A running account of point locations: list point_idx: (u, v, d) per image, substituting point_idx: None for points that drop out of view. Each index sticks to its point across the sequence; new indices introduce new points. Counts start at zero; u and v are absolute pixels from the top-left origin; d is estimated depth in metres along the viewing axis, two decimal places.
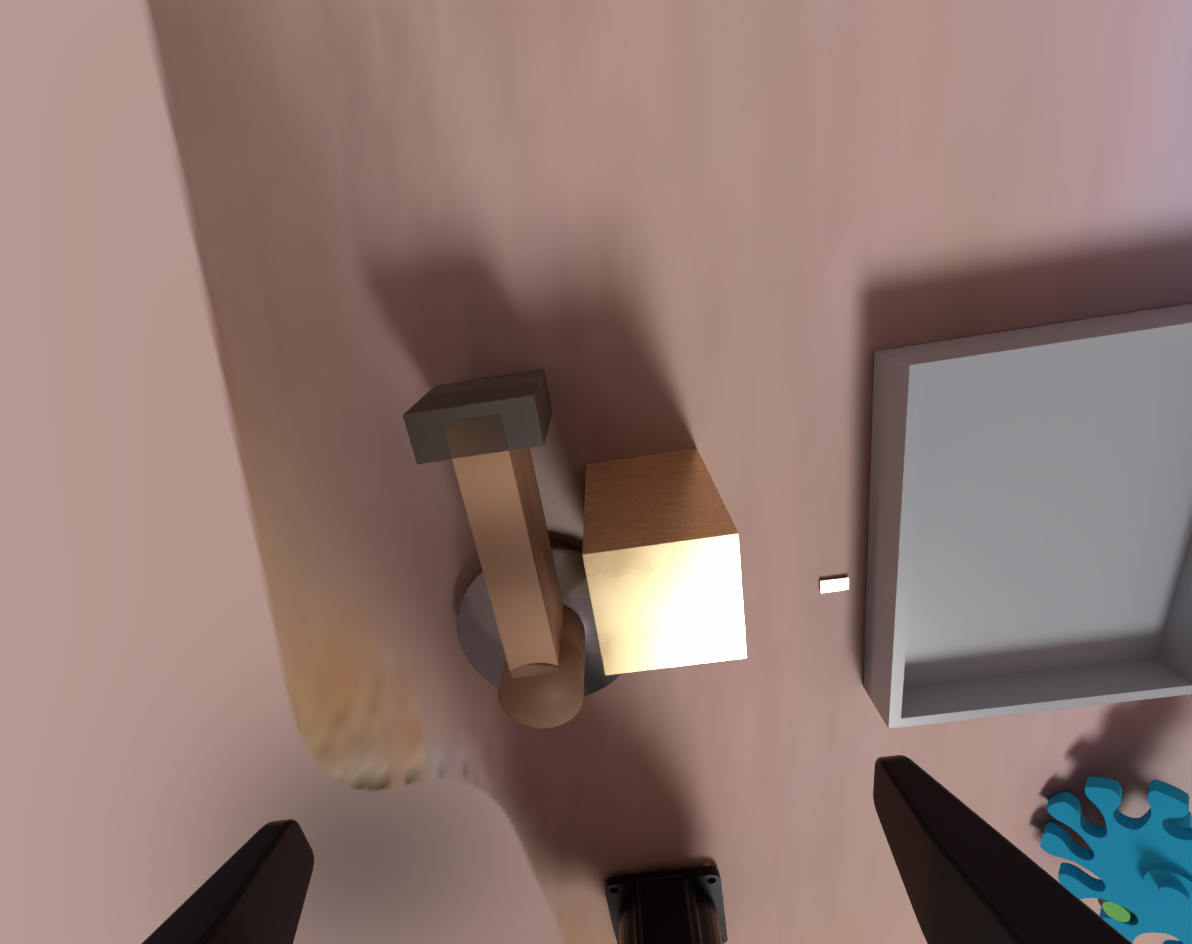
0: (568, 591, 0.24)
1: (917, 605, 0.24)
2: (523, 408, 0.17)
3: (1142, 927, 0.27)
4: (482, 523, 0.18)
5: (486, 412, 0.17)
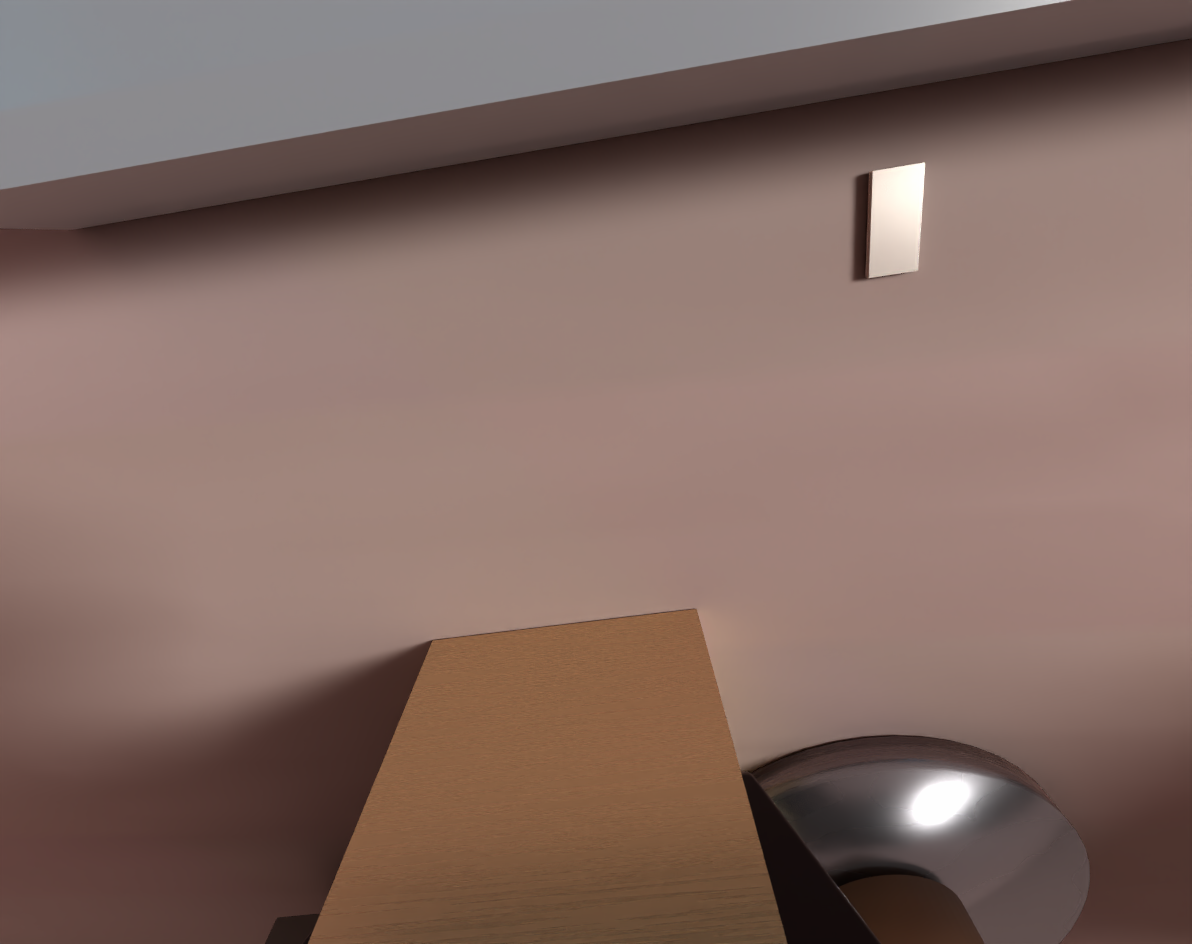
0: None
1: None
2: None
3: None
4: None
5: None
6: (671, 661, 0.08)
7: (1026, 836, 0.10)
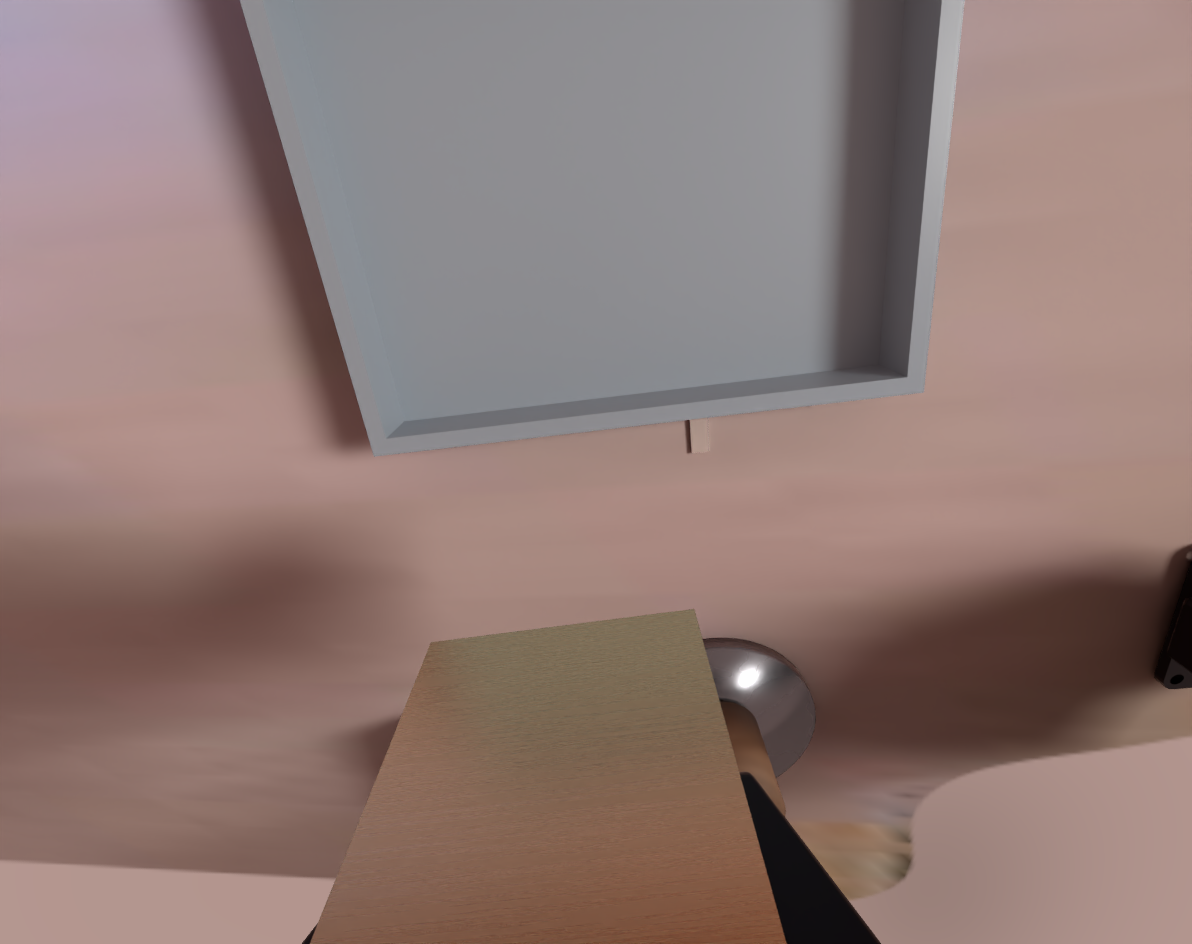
0: None
1: (732, 340, 0.17)
2: None
3: None
4: None
5: None
6: (668, 662, 0.08)
7: (781, 684, 0.22)
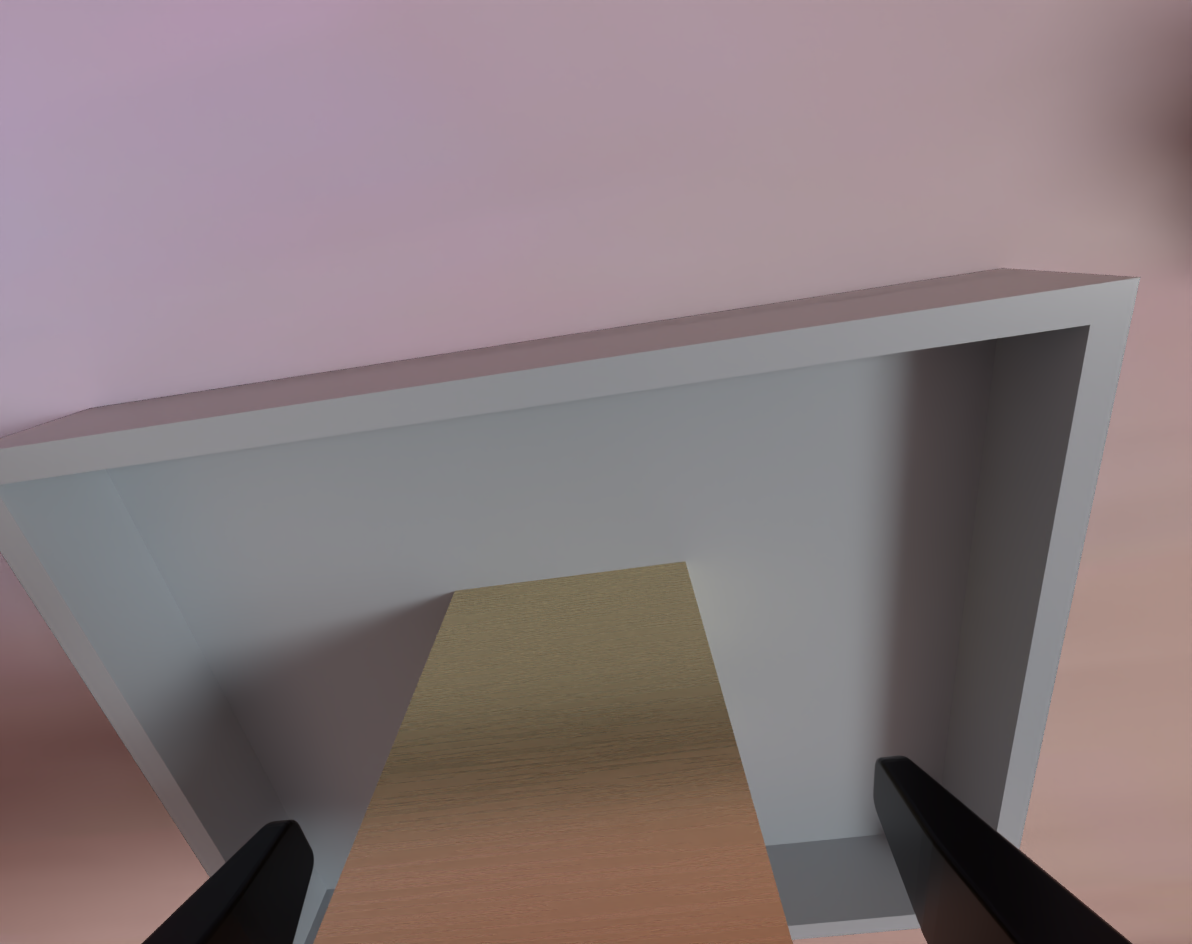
0: None
1: None
2: None
3: None
4: None
5: None
6: (662, 601, 0.09)
7: None
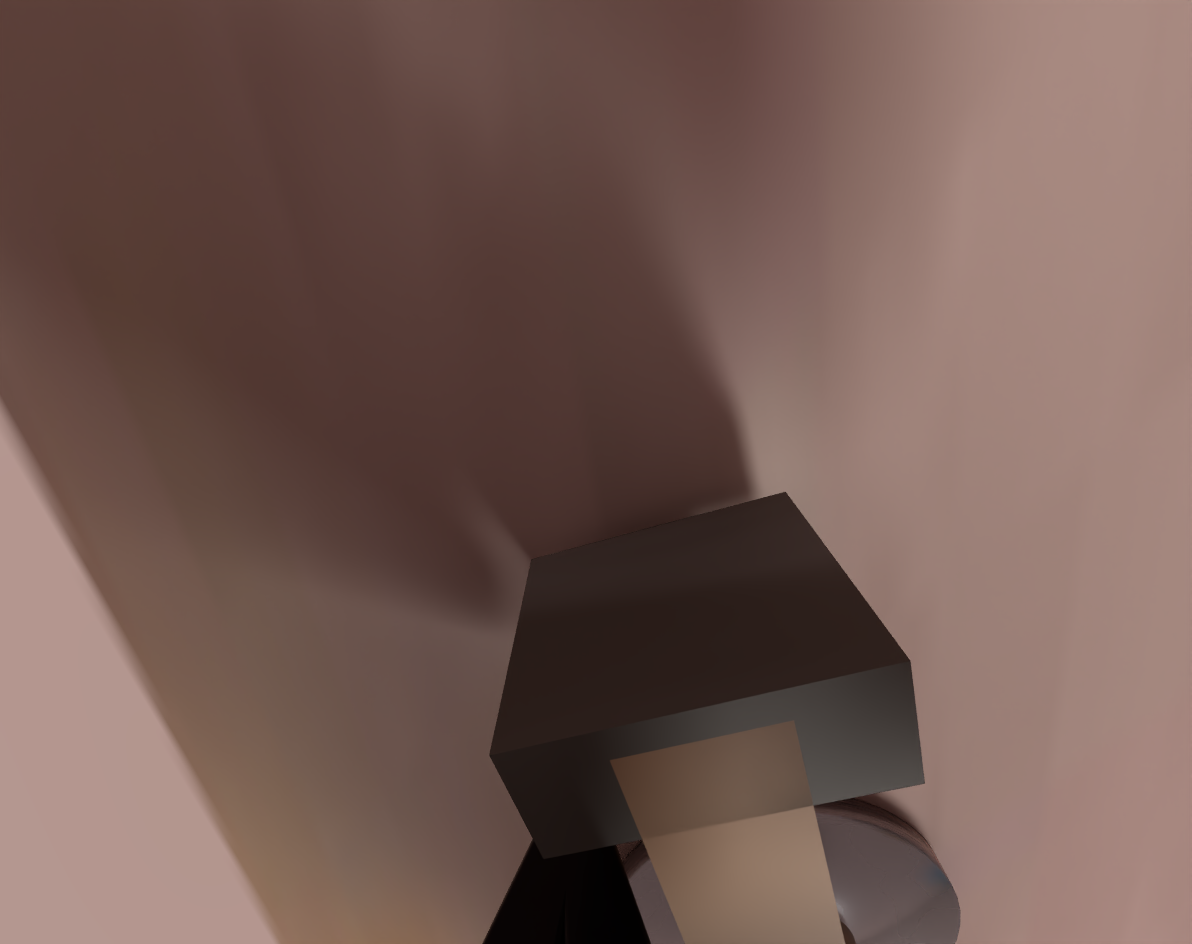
0: None
1: None
2: (873, 699, 0.05)
3: None
4: None
5: (750, 722, 0.05)
6: None
7: None
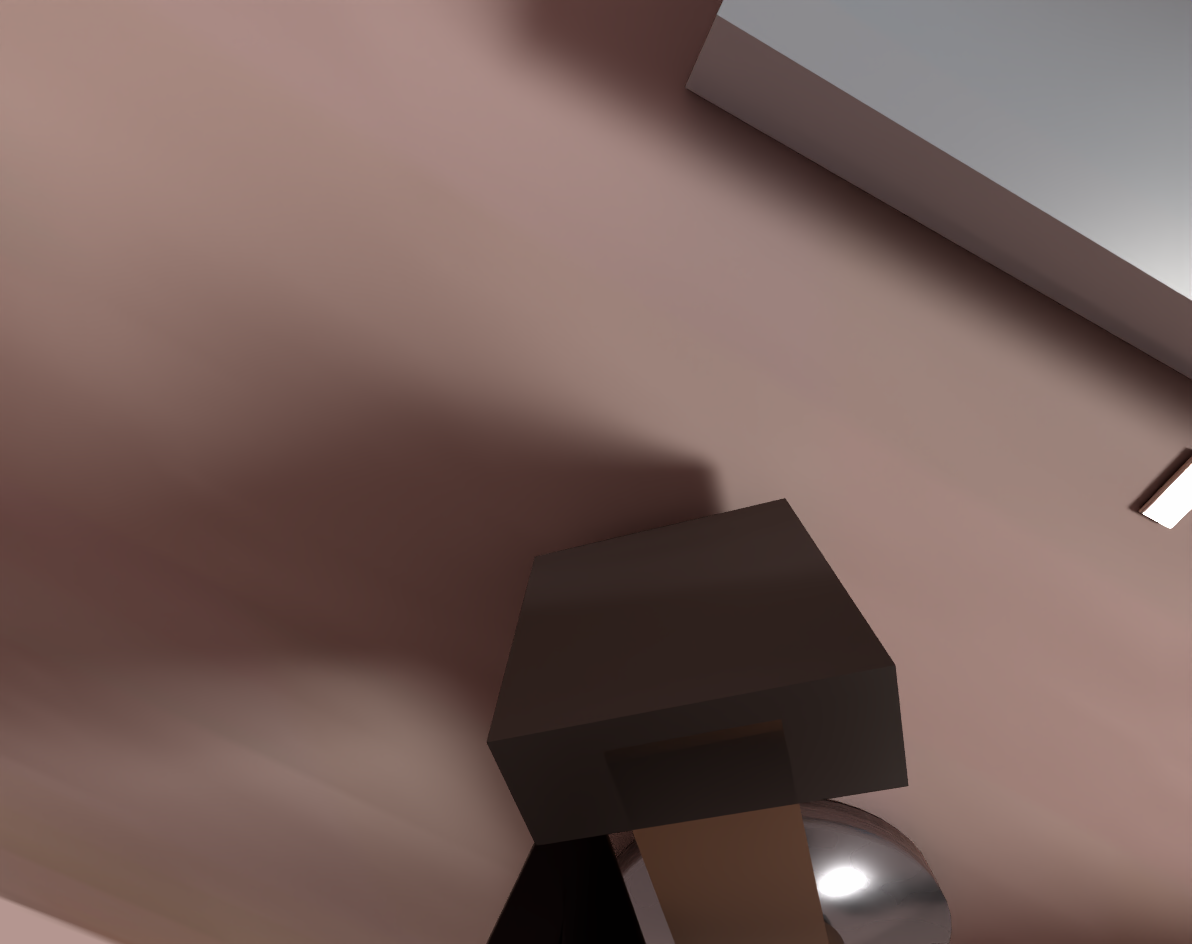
0: None
1: None
2: (858, 702, 0.05)
3: None
4: None
5: (738, 719, 0.05)
6: None
7: (917, 932, 0.13)
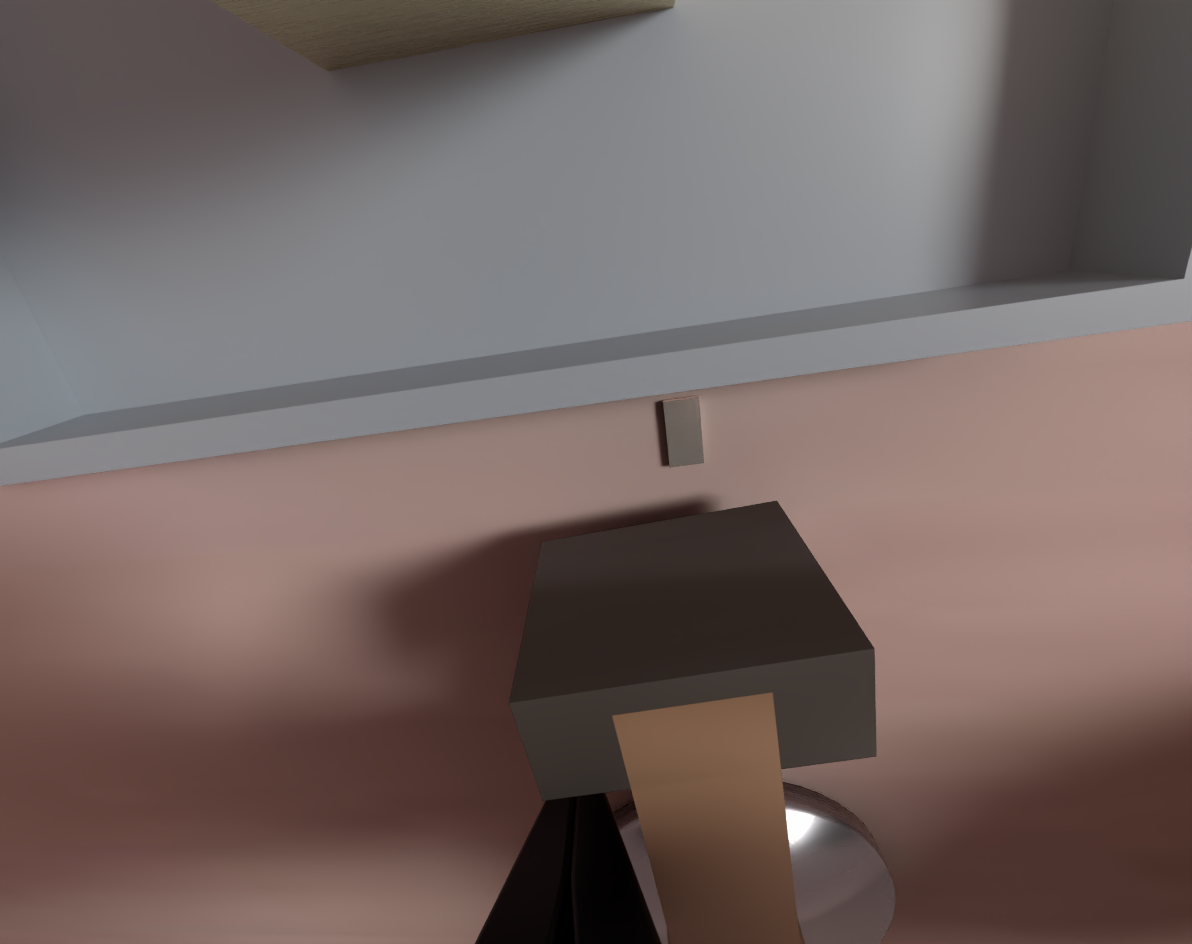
0: (649, 892, 0.14)
1: (746, 221, 0.08)
2: (839, 679, 0.06)
3: None
4: (692, 903, 0.08)
5: (735, 691, 0.06)
6: None
7: (838, 857, 0.13)
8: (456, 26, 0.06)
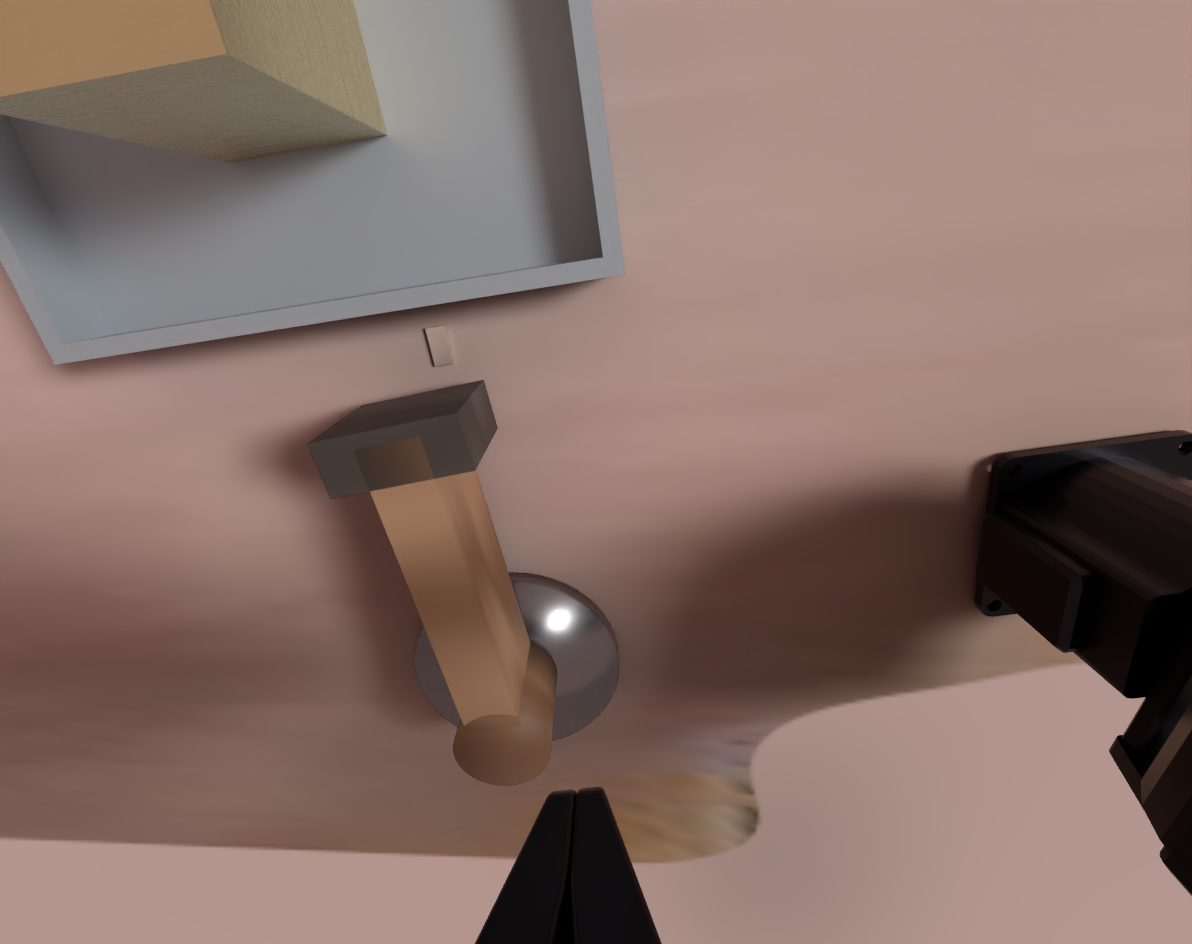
0: None
1: (439, 232, 0.16)
2: (447, 429, 0.14)
3: None
4: (413, 563, 0.16)
5: (403, 435, 0.14)
6: None
7: (573, 620, 0.21)
8: (283, 147, 0.14)
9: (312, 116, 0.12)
